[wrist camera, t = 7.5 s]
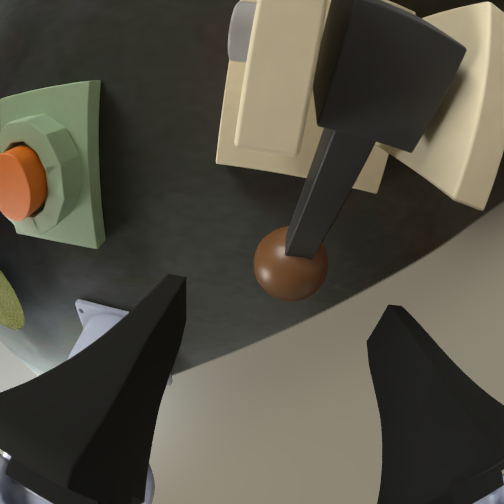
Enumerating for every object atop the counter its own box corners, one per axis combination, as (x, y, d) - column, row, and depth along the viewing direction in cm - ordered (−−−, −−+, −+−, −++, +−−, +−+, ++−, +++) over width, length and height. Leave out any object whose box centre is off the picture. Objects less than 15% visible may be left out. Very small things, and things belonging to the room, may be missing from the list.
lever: (315, 255, 14) (314, 314, 13) (254, 245, 14) (245, 305, 13) (431, 22, 4) (498, 71, 3) (311, -21, 4) (326, -12, 2)
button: (52, 212, 13) (36, 225, 12) (11, 207, 13) (-4, 218, 12) (44, 143, 11) (25, 151, 9) (2, 146, 11) (-15, 154, 9)
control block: (106, 239, 17) (83, 266, 14) (25, 225, 17) (2, 246, 14) (101, 80, 11) (68, 83, 9) (11, 95, 11) (-20, 104, 9)
